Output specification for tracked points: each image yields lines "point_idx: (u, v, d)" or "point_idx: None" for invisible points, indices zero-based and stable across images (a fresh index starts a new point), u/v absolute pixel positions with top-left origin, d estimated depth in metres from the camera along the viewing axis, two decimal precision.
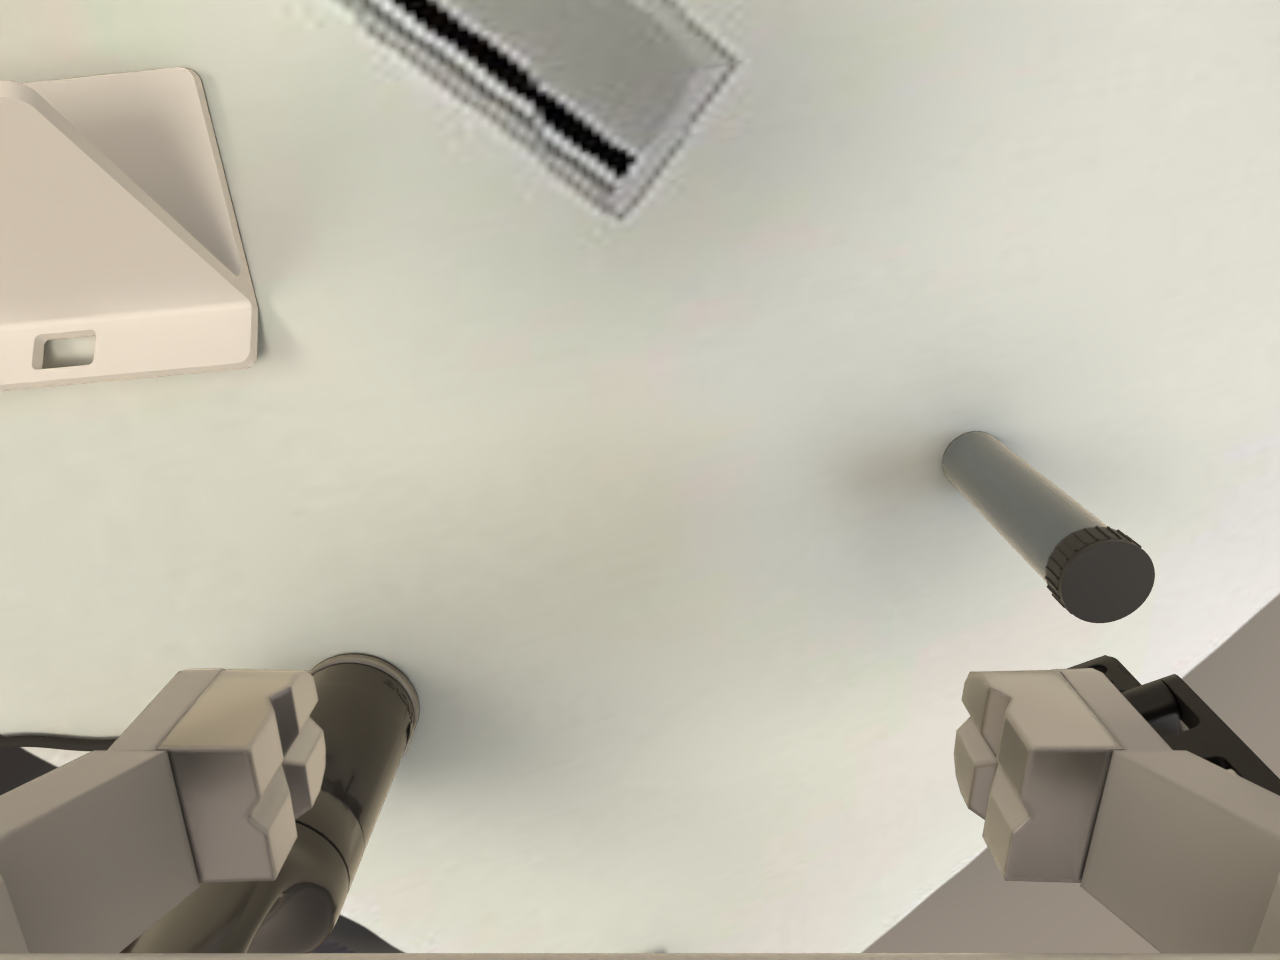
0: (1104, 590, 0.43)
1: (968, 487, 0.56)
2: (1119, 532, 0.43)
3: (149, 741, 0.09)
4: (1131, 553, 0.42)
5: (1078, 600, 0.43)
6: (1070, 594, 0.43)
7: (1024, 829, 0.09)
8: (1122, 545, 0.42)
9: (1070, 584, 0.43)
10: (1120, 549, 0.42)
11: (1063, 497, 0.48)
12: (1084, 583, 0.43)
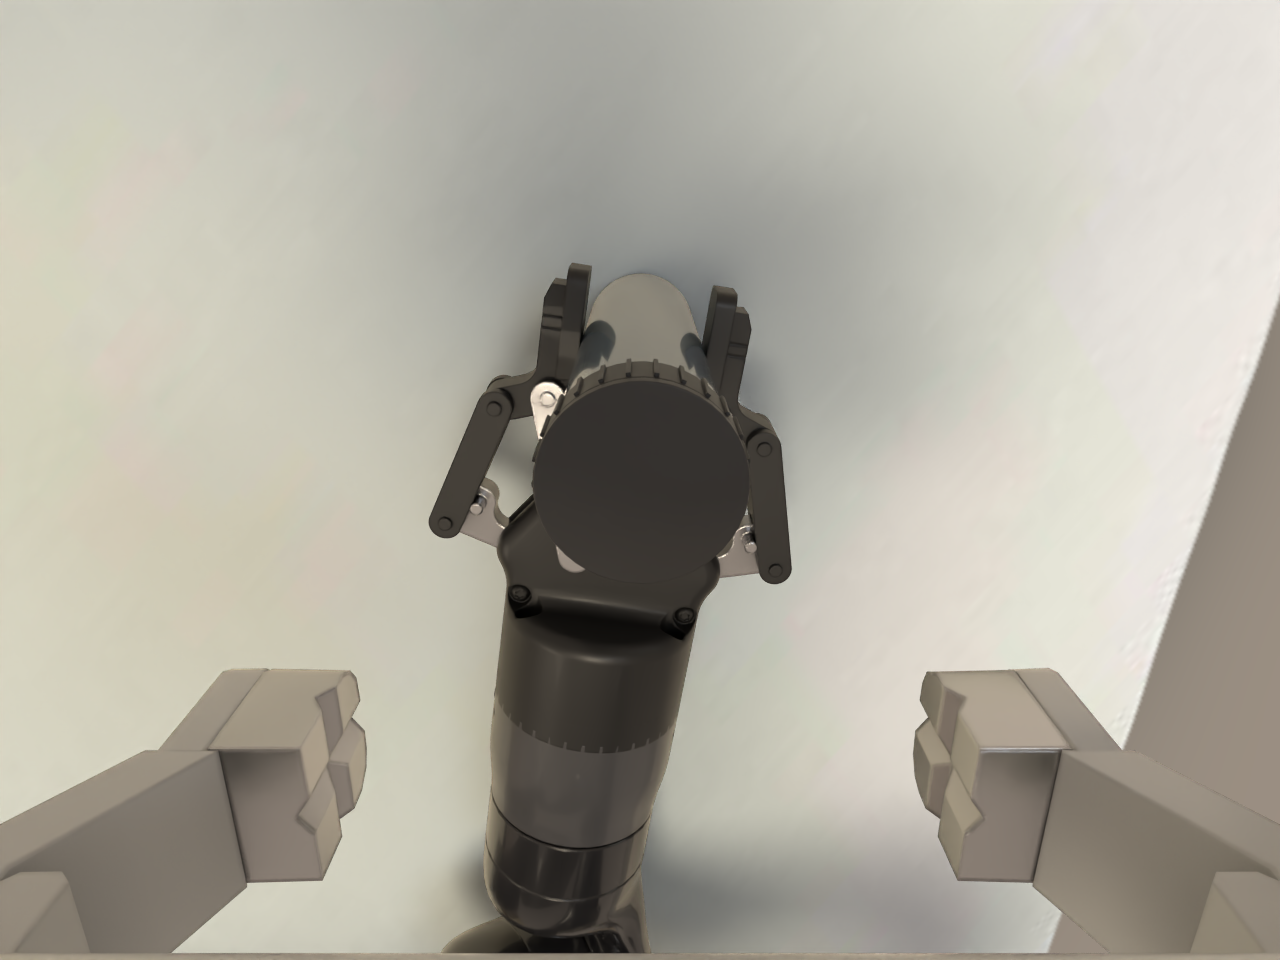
0: (647, 504, 0.18)
1: None
2: (624, 364, 0.19)
3: (200, 741, 0.09)
4: (632, 402, 0.17)
5: (613, 552, 0.19)
6: (587, 550, 0.19)
7: (976, 830, 0.09)
8: (600, 398, 0.17)
9: (568, 533, 0.18)
10: (602, 408, 0.17)
11: (611, 335, 0.23)
12: (594, 515, 0.18)
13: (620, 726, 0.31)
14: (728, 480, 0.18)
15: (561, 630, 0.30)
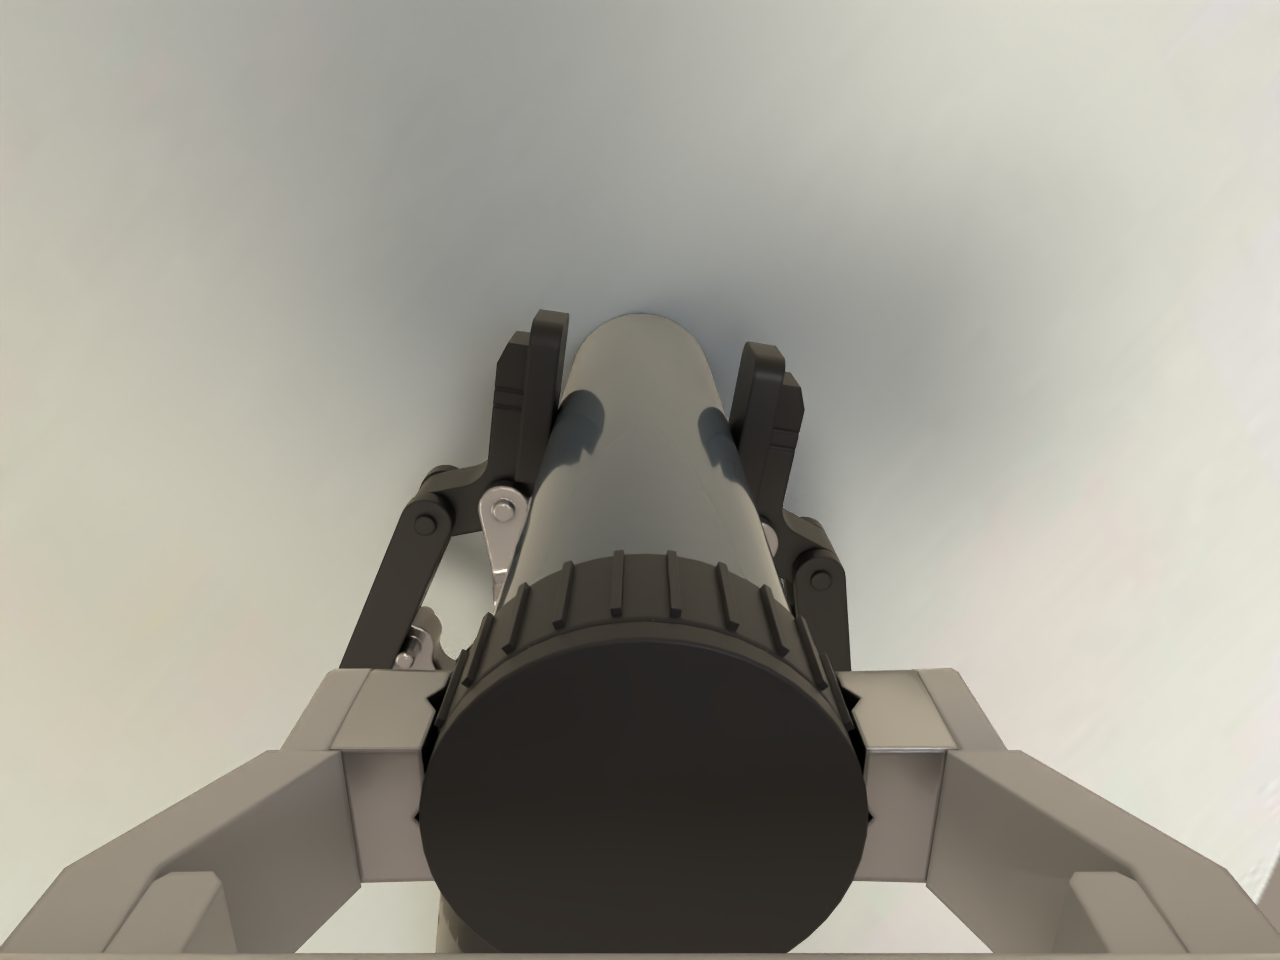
0: (655, 864, 0.09)
1: None
2: (608, 568, 0.09)
3: (320, 741, 0.09)
4: (623, 680, 0.08)
5: (588, 944, 0.09)
6: (534, 941, 0.09)
7: (867, 830, 0.09)
8: (556, 669, 0.08)
9: (496, 911, 0.09)
10: (559, 692, 0.08)
11: (592, 450, 0.14)
12: (547, 880, 0.09)
13: None
14: (824, 822, 0.09)
15: None
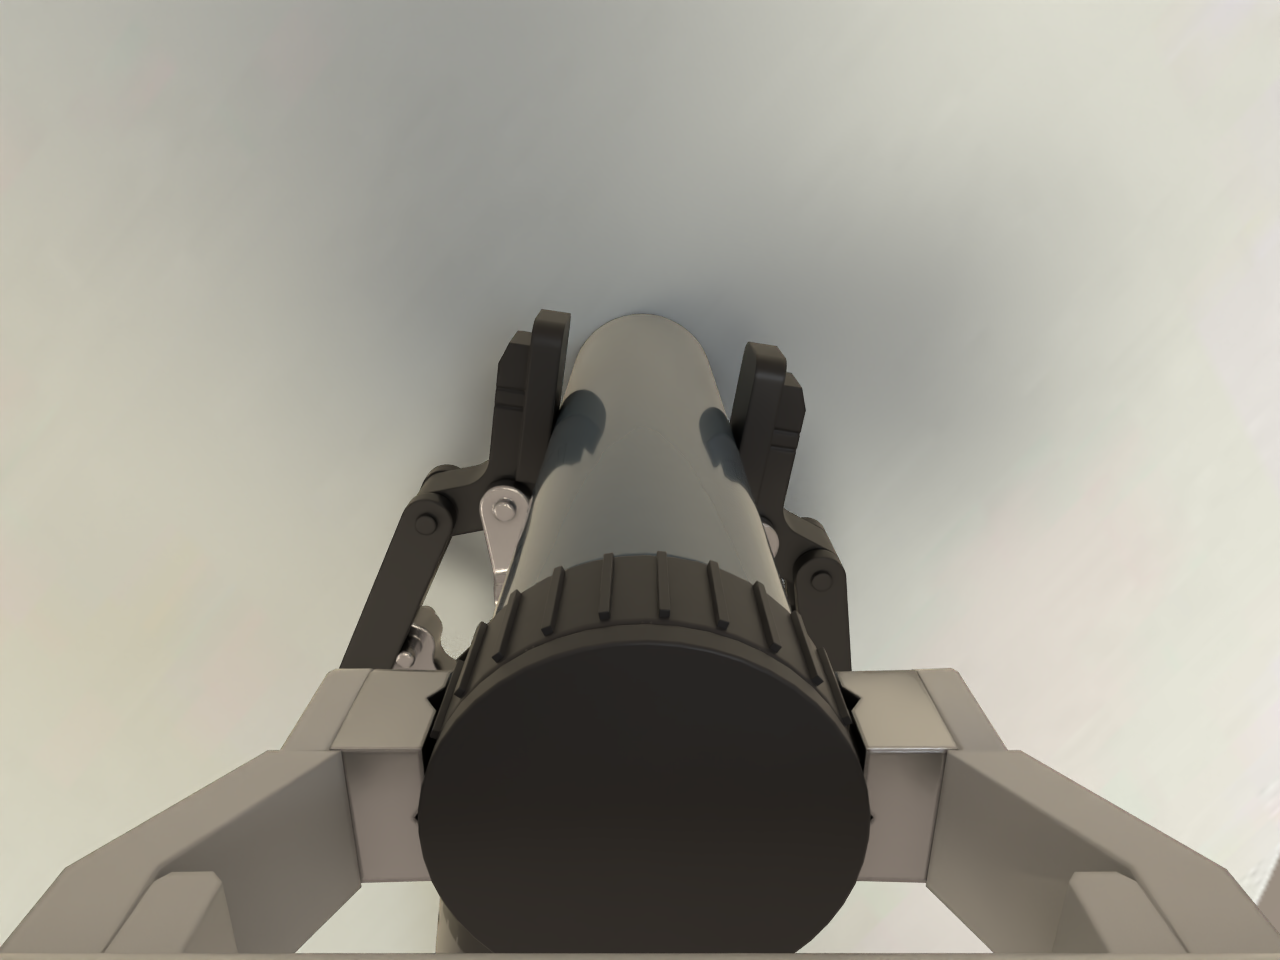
0: (683, 845, 0.09)
1: None
2: None
3: (320, 741, 0.09)
4: (471, 778, 0.08)
5: (740, 931, 0.09)
6: None
7: None
8: (437, 815, 0.09)
9: None
10: (456, 826, 0.09)
11: (593, 450, 0.14)
12: (649, 925, 0.09)
13: None
14: (724, 699, 0.08)
15: None
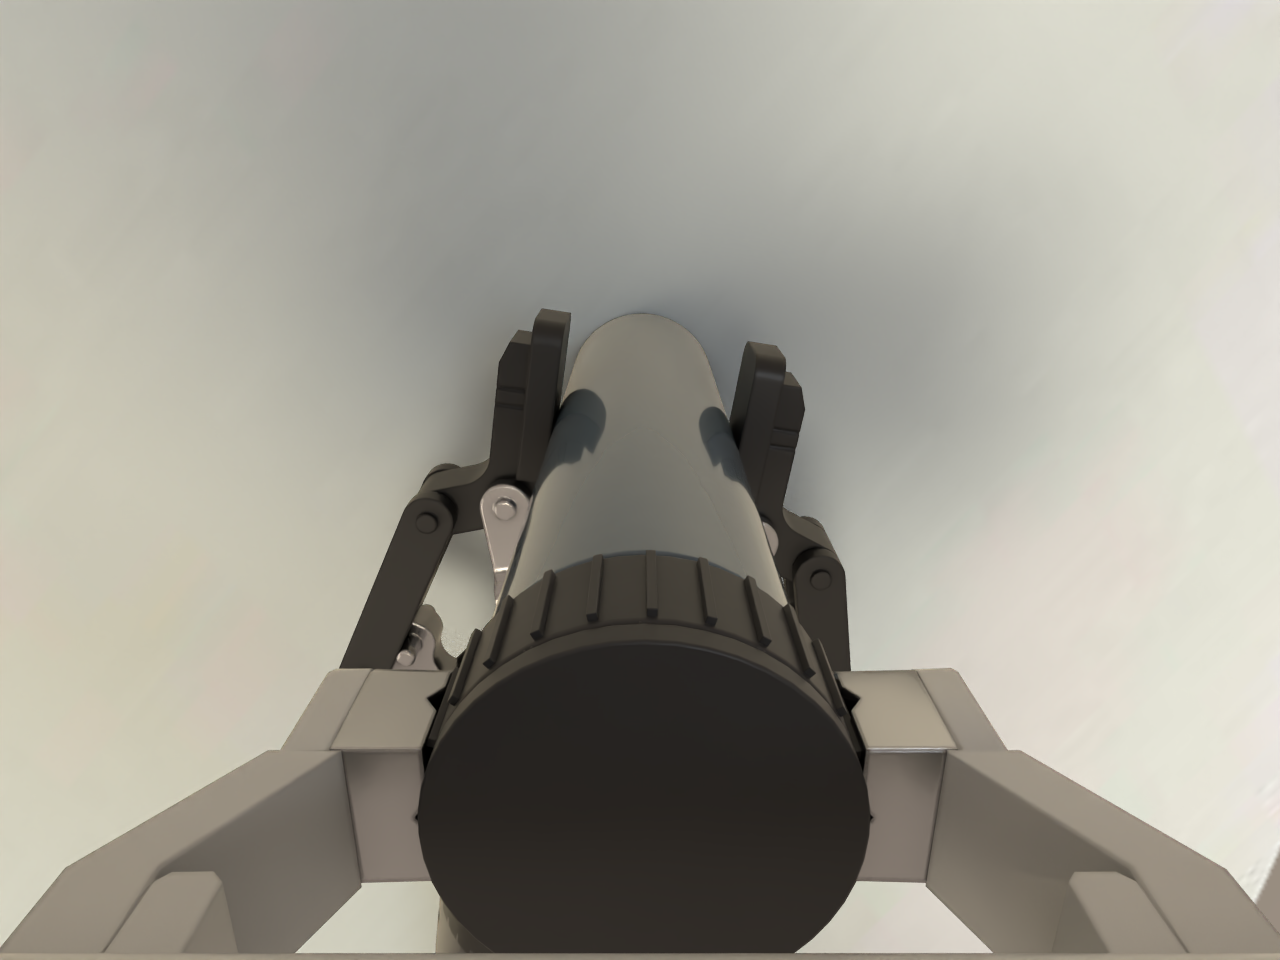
0: (671, 813, 0.09)
1: None
2: None
3: (321, 741, 0.09)
4: (503, 920, 0.09)
5: (804, 817, 0.09)
6: (826, 856, 0.09)
7: None
8: None
9: (806, 897, 0.09)
10: (545, 952, 0.09)
11: (593, 448, 0.14)
12: (746, 877, 0.09)
13: None
14: (530, 715, 0.08)
15: None
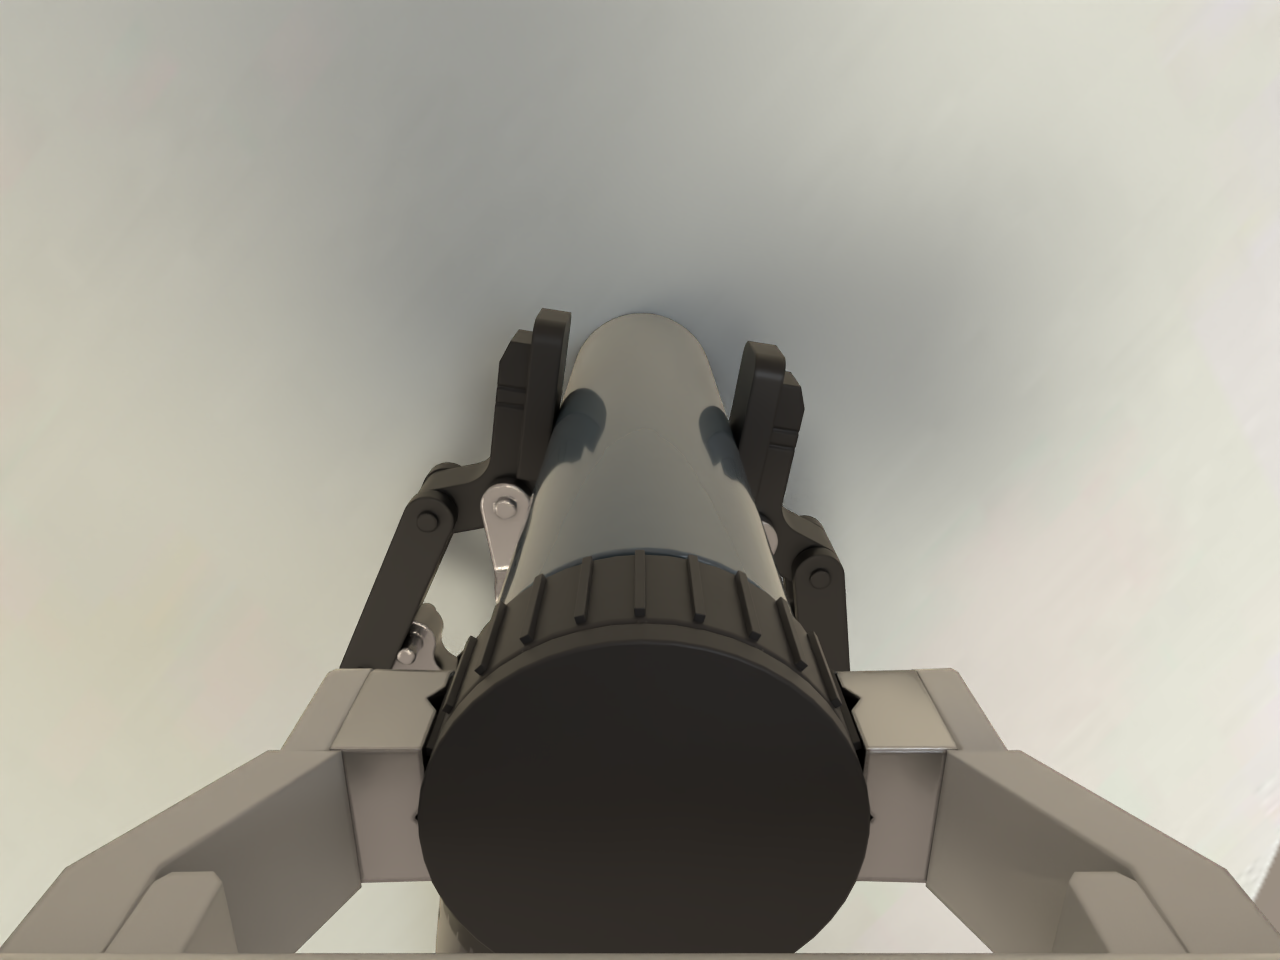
0: (630, 806, 0.09)
1: None
2: None
3: (320, 741, 0.09)
4: None
5: (703, 710, 0.08)
6: (763, 713, 0.08)
7: None
8: None
9: (802, 748, 0.08)
10: None
11: (593, 447, 0.14)
12: (744, 784, 0.08)
13: None
14: (465, 853, 0.09)
15: None
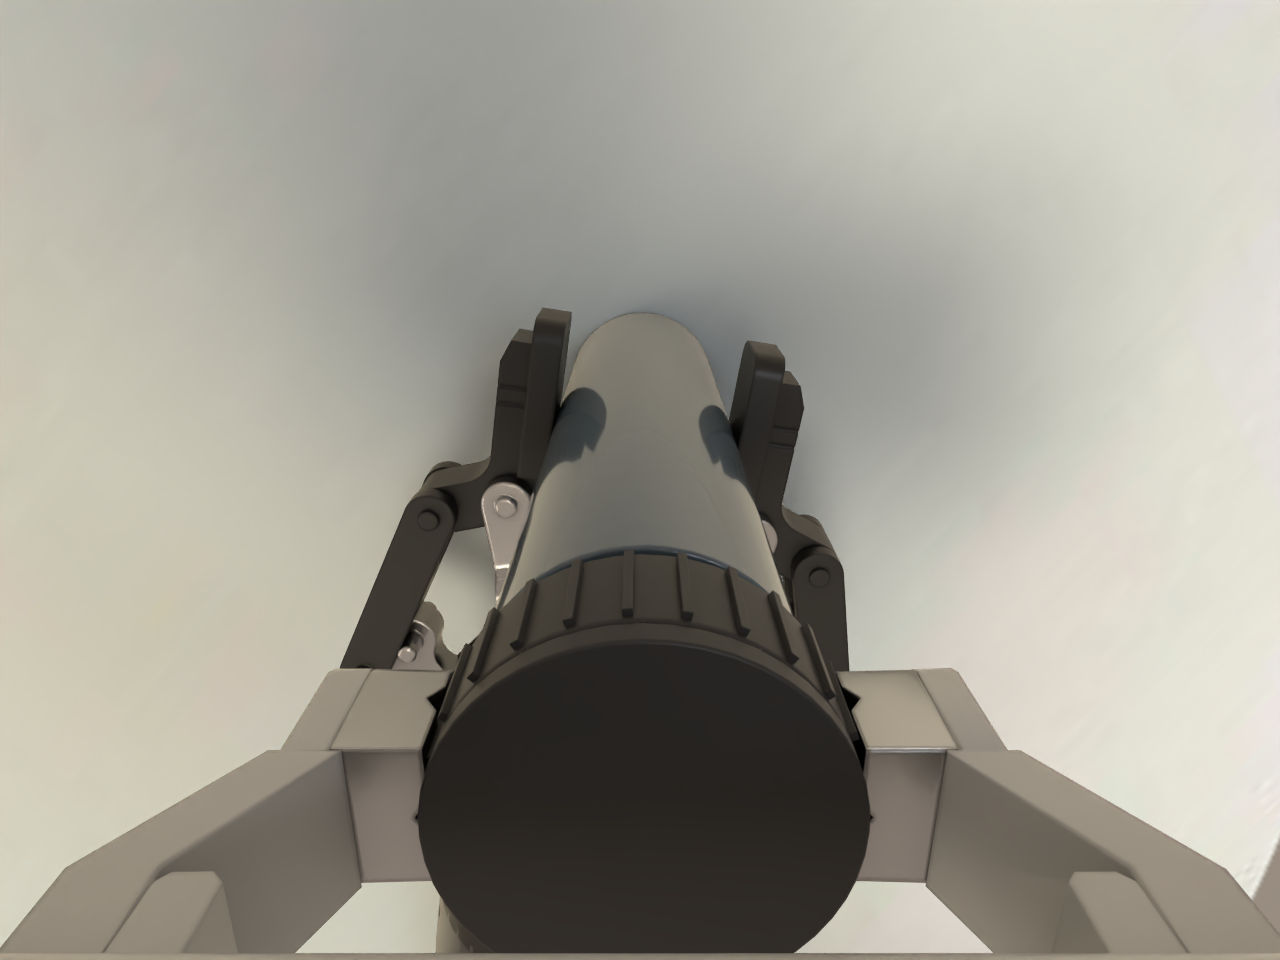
0: (603, 831, 0.09)
1: None
2: None
3: (321, 741, 0.09)
4: (808, 890, 0.09)
5: (533, 736, 0.08)
6: (564, 693, 0.08)
7: None
8: (847, 846, 0.09)
9: (623, 680, 0.08)
10: (830, 844, 0.09)
11: (594, 445, 0.14)
12: (634, 740, 0.08)
13: None
14: None
15: None
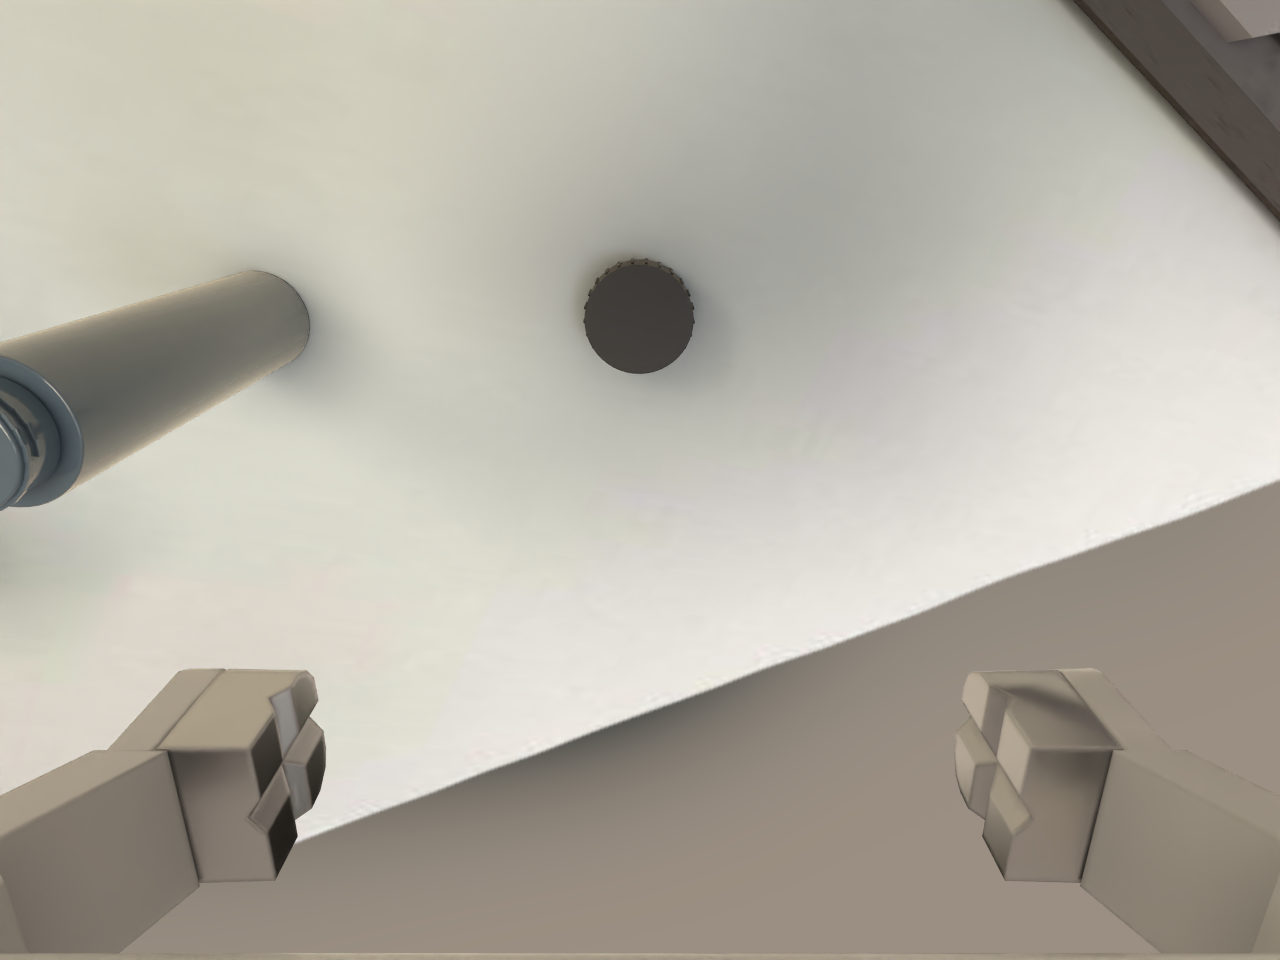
0: (632, 328, 0.36)
1: None
2: None
3: (149, 741, 0.09)
4: (673, 292, 0.36)
5: (601, 328, 0.36)
6: (594, 316, 0.36)
7: (1024, 830, 0.09)
8: (667, 278, 0.35)
9: (597, 302, 0.36)
10: (663, 282, 0.35)
11: (127, 337, 0.26)
12: (613, 308, 0.36)
13: None
14: (665, 354, 0.37)
15: None
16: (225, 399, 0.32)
